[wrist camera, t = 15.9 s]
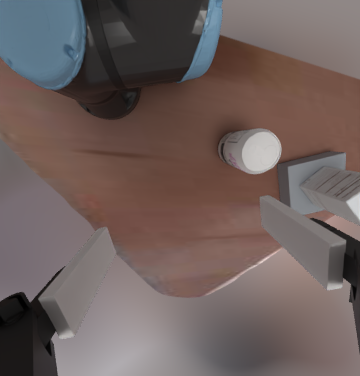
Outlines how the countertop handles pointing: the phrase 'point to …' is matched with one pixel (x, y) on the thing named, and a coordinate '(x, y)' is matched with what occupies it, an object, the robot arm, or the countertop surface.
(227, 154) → the supplement can
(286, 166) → the slate riser block
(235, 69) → the countertop surface
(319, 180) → the supplement box
